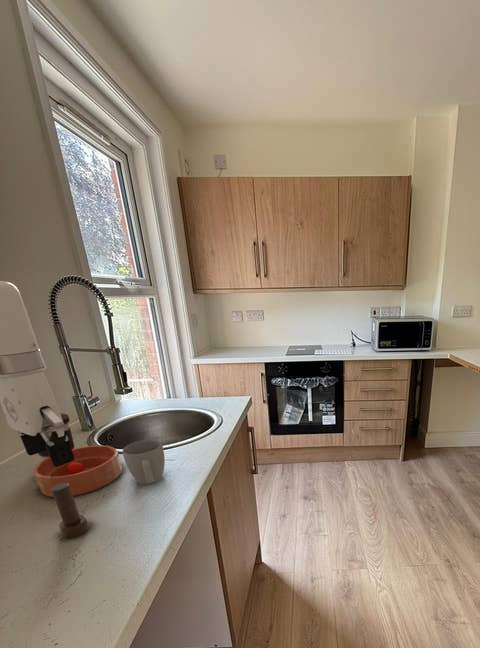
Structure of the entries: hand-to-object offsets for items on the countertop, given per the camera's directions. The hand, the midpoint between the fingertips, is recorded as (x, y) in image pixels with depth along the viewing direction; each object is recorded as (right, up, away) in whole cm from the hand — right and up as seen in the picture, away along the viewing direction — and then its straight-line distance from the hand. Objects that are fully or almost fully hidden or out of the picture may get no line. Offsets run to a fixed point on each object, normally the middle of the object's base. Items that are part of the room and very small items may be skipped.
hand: (51, 457), depth 63 cm
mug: (+6, -8, +24) cm, 26 cm away
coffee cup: (-25, -5, +35) cm, 43 cm away
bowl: (-12, -8, +26) cm, 30 cm away
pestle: (0, -16, +7) cm, 17 cm away
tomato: (-15, -5, +27) cm, 31 cm away
